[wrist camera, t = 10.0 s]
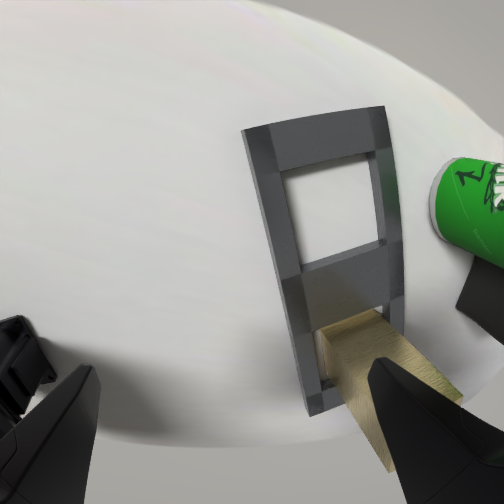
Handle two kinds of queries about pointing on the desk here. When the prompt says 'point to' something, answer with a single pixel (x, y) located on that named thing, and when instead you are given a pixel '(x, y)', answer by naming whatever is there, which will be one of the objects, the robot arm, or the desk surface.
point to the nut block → (360, 361)
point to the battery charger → (484, 297)
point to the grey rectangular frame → (339, 265)
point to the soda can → (470, 207)
